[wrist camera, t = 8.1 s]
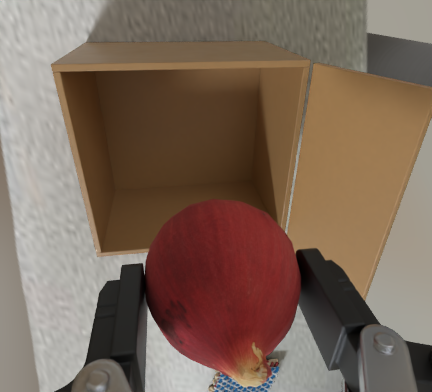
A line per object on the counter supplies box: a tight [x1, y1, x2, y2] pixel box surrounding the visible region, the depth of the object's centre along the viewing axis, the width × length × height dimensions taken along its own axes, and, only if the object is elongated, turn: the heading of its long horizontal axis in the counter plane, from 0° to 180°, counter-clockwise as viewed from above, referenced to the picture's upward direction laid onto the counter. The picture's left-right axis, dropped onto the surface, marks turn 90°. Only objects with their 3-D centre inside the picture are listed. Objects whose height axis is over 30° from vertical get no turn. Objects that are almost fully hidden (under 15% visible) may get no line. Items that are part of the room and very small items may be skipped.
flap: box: [287, 63, 432, 301], centre depth 20 cm, size 7×14×1 cm
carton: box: [51, 41, 311, 257], centre depth 26 cm, size 15×14×10 cm
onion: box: [145, 199, 301, 387], centre depth 12 cm, size 6×6×8 cm
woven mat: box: [208, 359, 280, 392], centre depth 54 cm, size 10×11×2 cm
